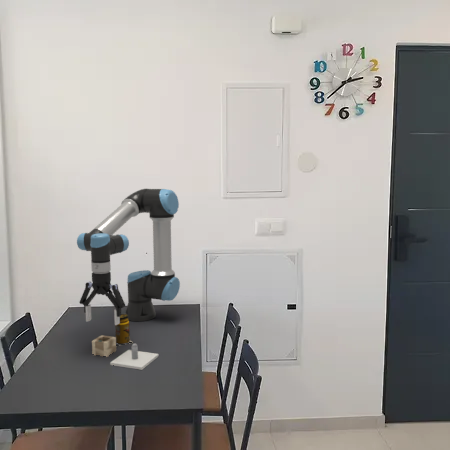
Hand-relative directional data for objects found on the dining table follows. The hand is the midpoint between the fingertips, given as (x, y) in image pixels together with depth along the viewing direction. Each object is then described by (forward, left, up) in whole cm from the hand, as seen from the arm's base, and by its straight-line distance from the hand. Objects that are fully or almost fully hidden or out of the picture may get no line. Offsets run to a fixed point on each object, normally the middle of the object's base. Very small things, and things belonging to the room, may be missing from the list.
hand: (102, 322), depth 216 cm
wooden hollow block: (0, 0, -13) cm, 13 cm away
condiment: (-13, 0, -14) cm, 19 cm away
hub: (+3, +16, -13) cm, 21 cm away
